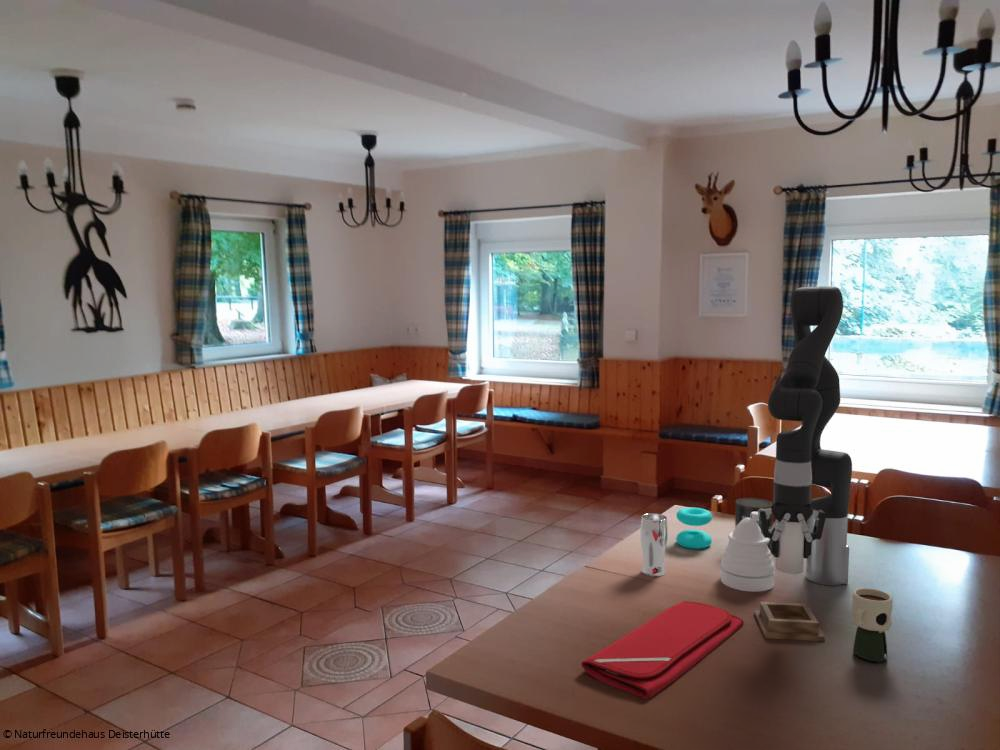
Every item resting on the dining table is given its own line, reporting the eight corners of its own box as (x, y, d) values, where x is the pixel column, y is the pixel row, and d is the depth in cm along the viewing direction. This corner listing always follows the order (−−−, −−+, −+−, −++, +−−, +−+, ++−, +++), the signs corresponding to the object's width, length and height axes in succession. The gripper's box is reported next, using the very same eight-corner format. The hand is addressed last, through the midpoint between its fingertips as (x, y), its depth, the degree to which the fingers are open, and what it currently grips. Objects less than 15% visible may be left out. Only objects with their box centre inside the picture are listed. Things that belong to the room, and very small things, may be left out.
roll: (798, 565, 167) (800, 515, 165) (806, 574, 161) (808, 523, 160) (772, 564, 167) (773, 515, 166) (779, 573, 161) (781, 522, 160)
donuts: (671, 512, 217) (683, 504, 226) (671, 546, 218) (682, 536, 227) (706, 517, 212) (716, 509, 220) (705, 552, 213) (715, 542, 222)
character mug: (873, 672, 145) (876, 607, 144) (838, 658, 151) (840, 595, 150) (901, 655, 152) (904, 593, 150) (866, 642, 157) (869, 582, 156)
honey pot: (766, 573, 197) (768, 506, 195) (780, 592, 184) (782, 520, 182) (716, 572, 198) (717, 505, 196) (726, 591, 185) (727, 519, 183)
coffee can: (773, 558, 207) (774, 508, 206) (734, 555, 210) (735, 506, 209) (771, 546, 217) (772, 498, 216) (734, 543, 220) (735, 496, 219)
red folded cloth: (745, 627, 166) (745, 611, 166) (650, 703, 136) (650, 684, 135) (680, 608, 177) (680, 593, 176) (578, 675, 146) (578, 657, 146)
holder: (809, 617, 170) (809, 602, 170) (824, 641, 158) (825, 625, 158) (754, 614, 172) (754, 599, 171) (765, 638, 160) (765, 622, 159)
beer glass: (669, 577, 195) (670, 520, 193) (642, 577, 195) (643, 520, 193) (664, 567, 202) (665, 513, 200) (638, 567, 202) (638, 513, 200)
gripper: (822, 477, 164) (820, 552, 166) (754, 475, 166) (752, 549, 168) (833, 485, 157) (830, 564, 159) (761, 483, 159) (759, 561, 161)
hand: (790, 556), depth 163 cm, fingers closed on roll, 5 cm apart
